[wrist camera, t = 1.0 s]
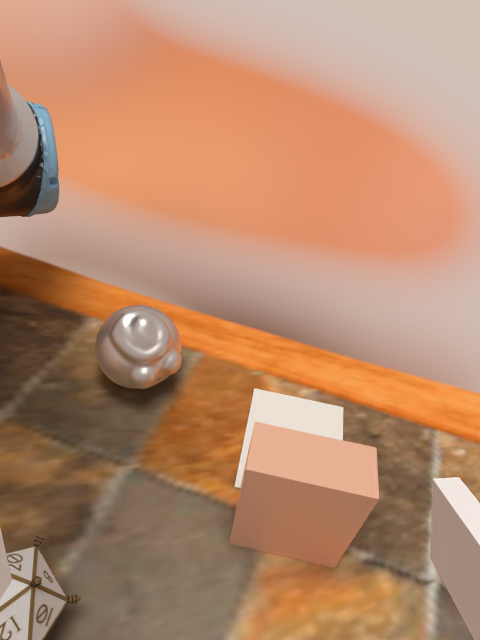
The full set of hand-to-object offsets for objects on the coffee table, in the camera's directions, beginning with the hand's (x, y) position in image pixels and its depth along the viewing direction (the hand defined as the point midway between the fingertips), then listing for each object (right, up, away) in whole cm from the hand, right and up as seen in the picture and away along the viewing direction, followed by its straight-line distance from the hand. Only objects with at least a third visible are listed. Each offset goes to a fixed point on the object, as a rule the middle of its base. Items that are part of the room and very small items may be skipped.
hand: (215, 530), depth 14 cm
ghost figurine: (-10, 0, +38) cm, 39 cm away
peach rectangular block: (+5, -12, +26) cm, 29 cm away
